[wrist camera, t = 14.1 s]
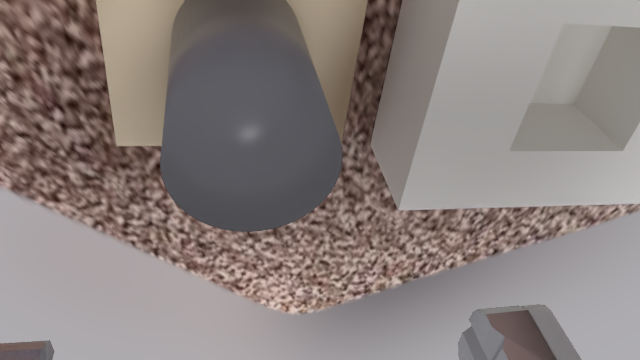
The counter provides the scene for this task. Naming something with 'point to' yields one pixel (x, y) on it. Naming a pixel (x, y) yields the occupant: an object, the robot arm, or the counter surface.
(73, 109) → the counter surface
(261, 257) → the counter surface
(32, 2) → the counter surface
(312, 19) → the pad
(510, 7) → the block
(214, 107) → the grey cylinder
